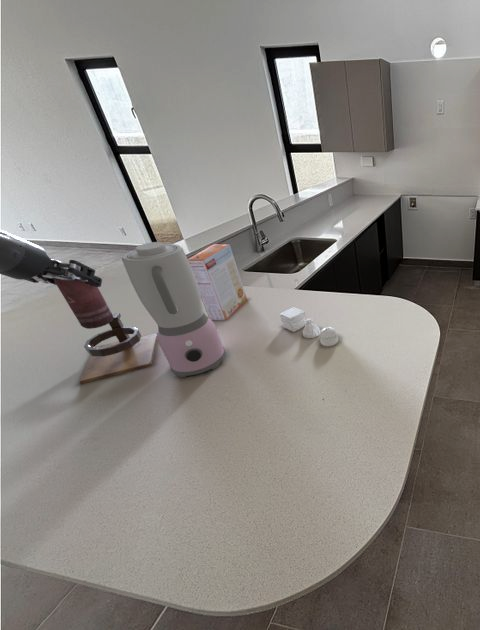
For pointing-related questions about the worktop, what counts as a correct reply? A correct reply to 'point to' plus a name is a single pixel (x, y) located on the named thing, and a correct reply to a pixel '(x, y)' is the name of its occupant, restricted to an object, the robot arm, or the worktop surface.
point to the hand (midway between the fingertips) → (84, 283)
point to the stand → (118, 352)
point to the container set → (307, 326)
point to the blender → (175, 307)
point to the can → (85, 302)
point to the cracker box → (218, 281)
